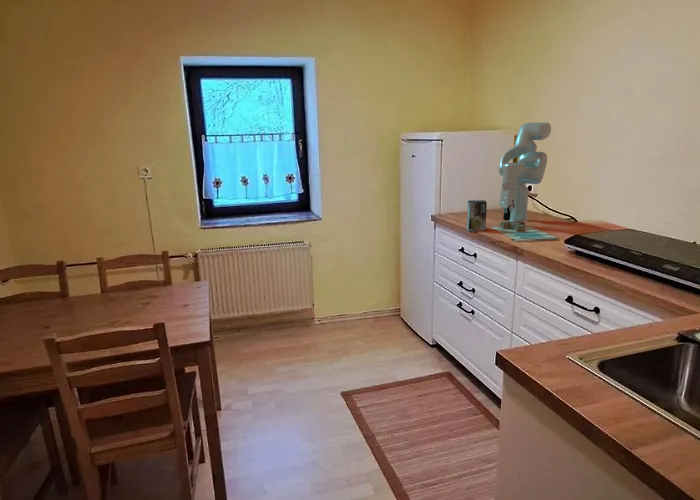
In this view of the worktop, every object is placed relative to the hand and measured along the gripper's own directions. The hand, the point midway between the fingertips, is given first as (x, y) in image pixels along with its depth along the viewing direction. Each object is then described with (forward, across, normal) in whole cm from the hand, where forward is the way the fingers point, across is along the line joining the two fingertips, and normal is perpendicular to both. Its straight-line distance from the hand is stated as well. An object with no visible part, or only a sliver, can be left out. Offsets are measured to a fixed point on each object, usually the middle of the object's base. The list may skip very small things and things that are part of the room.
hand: (506, 219), depth 249 cm
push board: (+5, +18, +1) cm, 19 cm away
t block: (+3, +10, +1) cm, 11 cm away
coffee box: (+5, +5, -19) cm, 21 cm away
